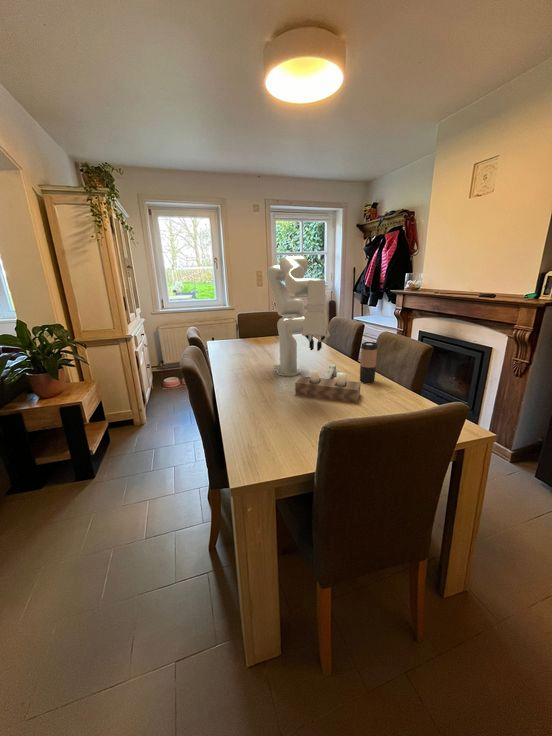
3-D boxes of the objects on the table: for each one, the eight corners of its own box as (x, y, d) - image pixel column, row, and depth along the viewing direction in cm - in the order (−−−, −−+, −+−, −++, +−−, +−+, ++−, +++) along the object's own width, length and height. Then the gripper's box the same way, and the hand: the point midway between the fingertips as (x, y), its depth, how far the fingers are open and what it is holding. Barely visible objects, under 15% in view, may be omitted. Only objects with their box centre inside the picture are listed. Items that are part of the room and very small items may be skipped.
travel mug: (376, 383, 153) (379, 345, 147) (361, 384, 153) (363, 345, 147) (372, 378, 160) (375, 341, 154) (357, 378, 161) (359, 341, 155)
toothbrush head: (316, 381, 148) (329, 360, 169) (316, 393, 151) (329, 371, 172) (326, 382, 146) (338, 361, 167) (327, 394, 149) (338, 372, 170)
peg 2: (335, 386, 136) (335, 374, 135) (337, 383, 140) (337, 371, 138) (344, 387, 135) (344, 375, 133) (346, 384, 139) (346, 372, 137)
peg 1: (309, 383, 141) (309, 371, 139) (312, 380, 144) (312, 369, 143) (318, 384, 139) (318, 372, 138) (320, 381, 143) (320, 370, 141)
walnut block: (295, 394, 142) (295, 382, 140) (301, 387, 151) (301, 376, 149) (356, 403, 132) (357, 390, 130) (359, 394, 141) (360, 382, 139)
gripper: (295, 309, 131) (295, 350, 137) (332, 310, 125) (331, 353, 131) (300, 307, 138) (300, 346, 144) (336, 307, 132) (335, 349, 138)
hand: (315, 349), depth 137 cm, fingers open, 2 cm apart
